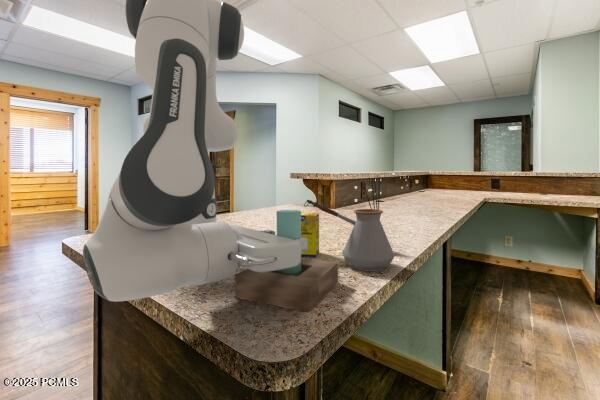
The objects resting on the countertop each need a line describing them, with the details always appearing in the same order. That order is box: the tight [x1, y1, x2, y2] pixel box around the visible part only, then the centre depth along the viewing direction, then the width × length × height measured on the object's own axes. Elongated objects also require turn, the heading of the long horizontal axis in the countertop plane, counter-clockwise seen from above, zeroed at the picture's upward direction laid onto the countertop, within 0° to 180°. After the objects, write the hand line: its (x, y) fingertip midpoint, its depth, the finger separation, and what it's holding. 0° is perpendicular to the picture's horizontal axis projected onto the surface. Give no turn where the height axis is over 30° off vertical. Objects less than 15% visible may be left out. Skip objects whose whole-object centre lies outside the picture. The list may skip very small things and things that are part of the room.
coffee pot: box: [303, 199, 395, 272], centre depth 72 cm, size 21×12×15 cm, turn 66°
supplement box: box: [301, 211, 320, 259], centre depth 81 cm, size 6×6×11 cm
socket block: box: [234, 257, 339, 313], centre depth 56 cm, size 14×14×4 cm
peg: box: [276, 209, 302, 276], centre depth 56 cm, size 4×4×13 cm
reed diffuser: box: [361, 177, 381, 210], centre depth 85 cm, size 10×7×20 cm
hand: (288, 238), depth 55 cm, fingers open, 8 cm apart
